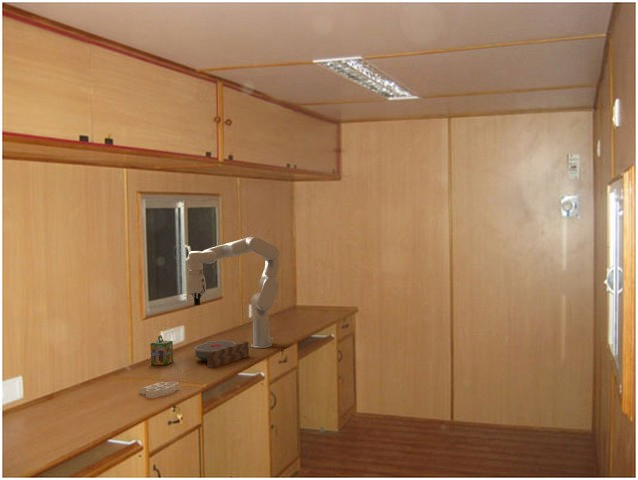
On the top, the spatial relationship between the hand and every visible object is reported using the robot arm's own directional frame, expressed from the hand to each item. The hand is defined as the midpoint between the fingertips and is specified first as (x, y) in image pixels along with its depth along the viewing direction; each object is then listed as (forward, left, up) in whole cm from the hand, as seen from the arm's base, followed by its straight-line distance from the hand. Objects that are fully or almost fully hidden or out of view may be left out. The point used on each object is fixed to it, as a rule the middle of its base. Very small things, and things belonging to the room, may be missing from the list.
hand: (197, 304), depth 391 cm
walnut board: (+10, +31, -27) cm, 42 cm away
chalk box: (+30, +2, -27) cm, 41 cm away
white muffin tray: (+71, +43, -28) cm, 88 cm away
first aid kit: (+8, +20, -27) cm, 35 cm away
